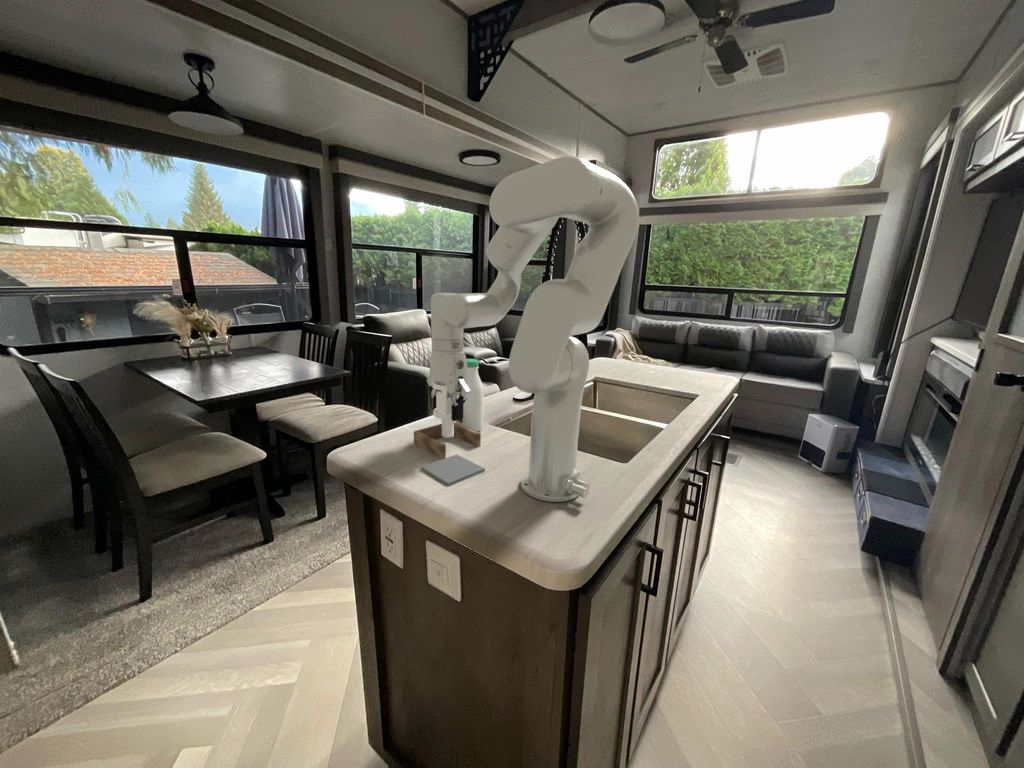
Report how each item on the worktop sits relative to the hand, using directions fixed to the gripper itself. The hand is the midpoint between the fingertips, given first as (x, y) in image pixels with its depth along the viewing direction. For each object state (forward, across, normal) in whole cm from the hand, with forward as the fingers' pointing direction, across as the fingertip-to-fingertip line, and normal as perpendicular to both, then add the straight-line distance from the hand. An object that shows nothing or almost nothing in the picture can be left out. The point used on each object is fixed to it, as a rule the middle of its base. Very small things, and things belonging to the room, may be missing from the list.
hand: (447, 415), depth 100 cm
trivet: (+8, -12, +8) cm, 16 cm away
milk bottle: (+8, +6, -12) cm, 16 cm away
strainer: (+6, 0, 0) cm, 6 cm away
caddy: (+8, 0, 0) cm, 8 cm away
